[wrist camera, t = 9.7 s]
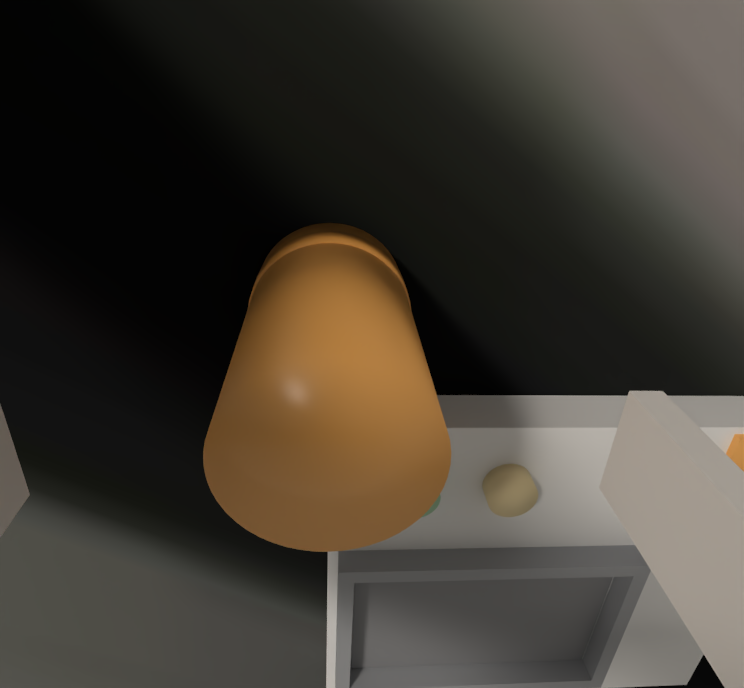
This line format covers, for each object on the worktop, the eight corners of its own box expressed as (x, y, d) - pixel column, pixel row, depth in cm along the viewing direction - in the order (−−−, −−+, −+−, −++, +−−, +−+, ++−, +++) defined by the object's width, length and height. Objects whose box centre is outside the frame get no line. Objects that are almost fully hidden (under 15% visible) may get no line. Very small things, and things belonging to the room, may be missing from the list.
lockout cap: (251, 219, 17) (186, 355, 9) (409, 223, 17) (469, 358, 10) (260, 357, 19) (213, 555, 12) (398, 358, 19) (439, 551, 12)
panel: (329, 394, 20) (329, 468, 16) (788, 396, 21) (878, 464, 18) (326, 658, 27) (325, 746, 24) (665, 646, 29) (711, 728, 25)
